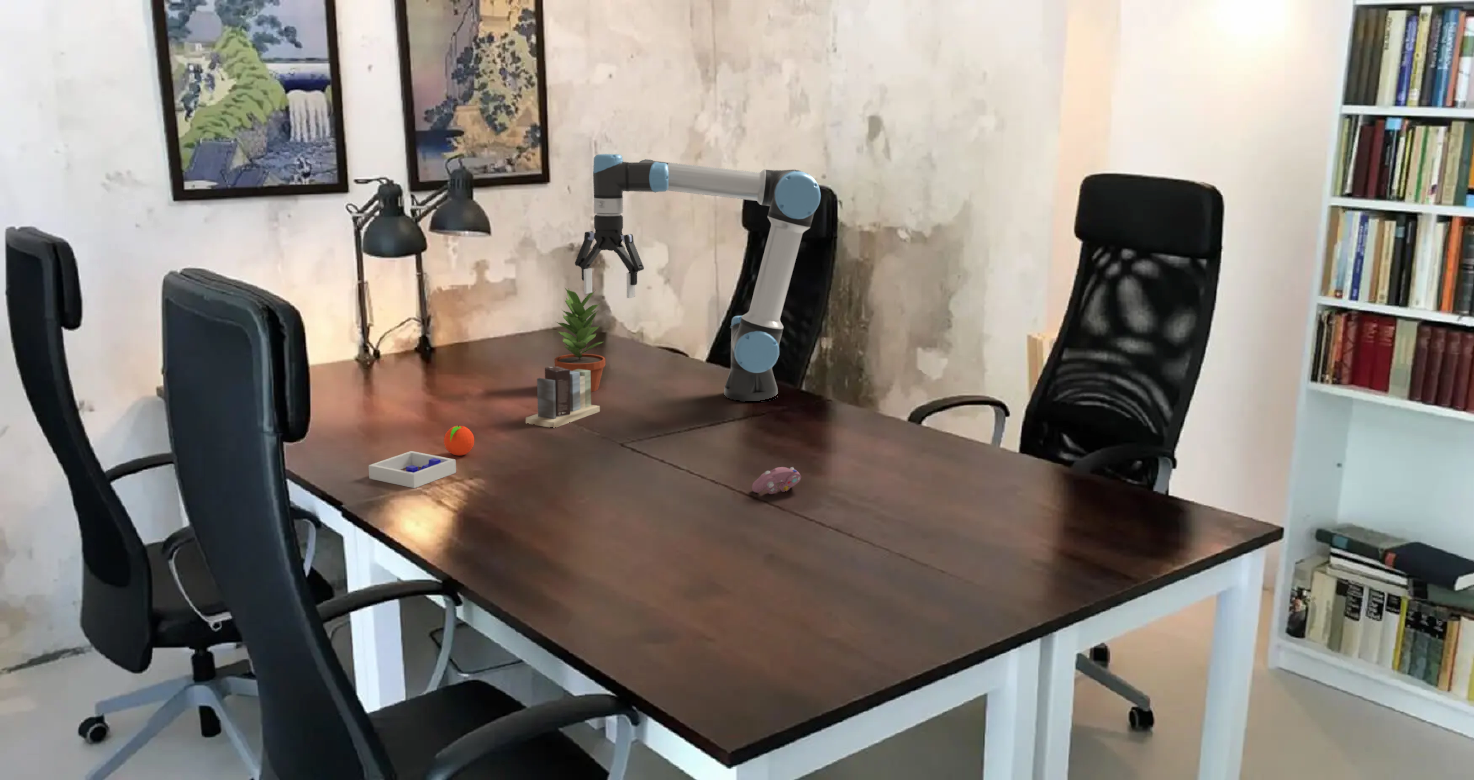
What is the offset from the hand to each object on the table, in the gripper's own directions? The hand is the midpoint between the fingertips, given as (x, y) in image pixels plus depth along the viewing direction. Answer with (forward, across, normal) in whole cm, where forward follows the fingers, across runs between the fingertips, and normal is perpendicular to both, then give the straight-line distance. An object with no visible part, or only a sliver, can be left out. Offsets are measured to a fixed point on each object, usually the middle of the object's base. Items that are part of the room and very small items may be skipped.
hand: (609, 295), depth 317 cm
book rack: (+31, -5, -15) cm, 34 cm away
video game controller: (+31, +71, -42) cm, 88 cm away
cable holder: (+31, +1, -74) cm, 80 cm away
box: (+29, -4, -17) cm, 34 cm away
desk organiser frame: (+31, -2, -73) cm, 79 cm away
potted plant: (+31, -20, +14) cm, 39 cm away
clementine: (+31, -4, -56) cm, 64 cm away
